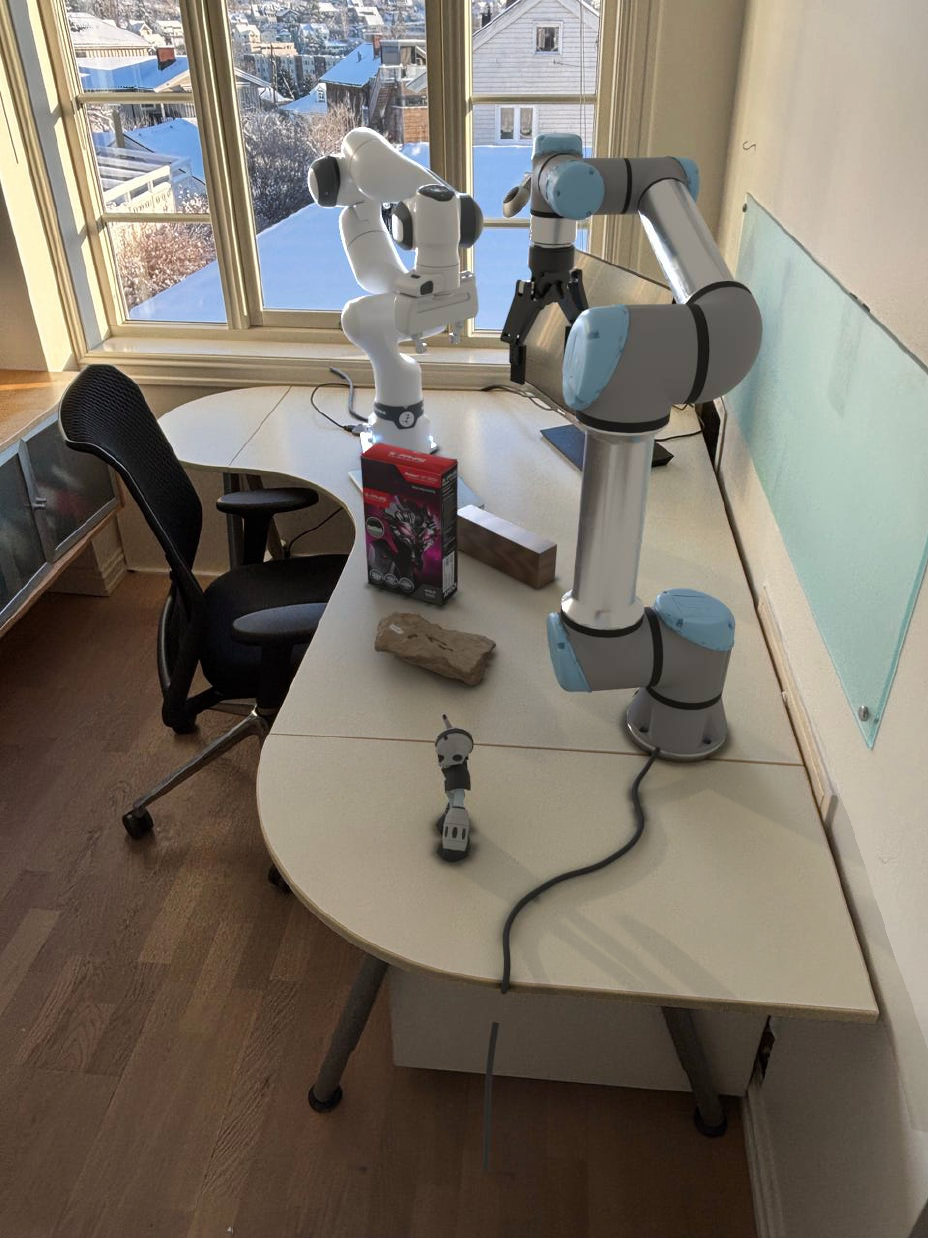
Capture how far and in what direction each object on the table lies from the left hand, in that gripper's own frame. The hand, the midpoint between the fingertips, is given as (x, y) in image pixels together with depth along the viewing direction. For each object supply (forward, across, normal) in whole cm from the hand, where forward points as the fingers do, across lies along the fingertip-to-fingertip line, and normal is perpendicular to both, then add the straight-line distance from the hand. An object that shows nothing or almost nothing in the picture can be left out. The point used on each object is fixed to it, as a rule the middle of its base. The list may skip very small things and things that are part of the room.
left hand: (438, 347), depth 188 cm
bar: (+35, +9, +28) cm, 46 cm away
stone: (+35, +42, +42) cm, 69 cm away
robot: (+35, +68, +74) cm, 106 cm away
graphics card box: (+35, +29, +23) cm, 51 cm away
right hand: (-6, +9, +36) cm, 37 cm away
